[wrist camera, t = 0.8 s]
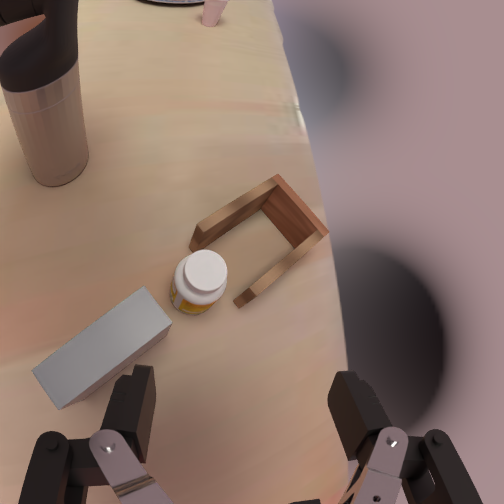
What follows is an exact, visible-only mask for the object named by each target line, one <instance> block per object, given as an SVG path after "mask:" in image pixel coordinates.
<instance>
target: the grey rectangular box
mask: <svg viewBox="0 0 504 504" xmlns="http://www.w3.org/2000/svg"><path fill="white" fill-rule="evenodd" d="M172 323H173V322H172V321H171V320H170V319H169V317H168V316H167V315H166V314H165V312H164V311H163V310H162V308H161V307H160V306H159V305H158V303H157V302H156V301H155V299H154V298H153V297H152V295H151V294H150V293H149V291H148V290H147V289H146V287H145V286H143V287H141V288H140V289H138V290H137V291H136V292H134V293H133V294H132V295H130V296H129V297H127V298H126V299H125V300H123V301H122V302H121V303H119V304H118V305H116V306H115V307H114V308H112V309H111V310H110V311H108V312H107V313H106V314H104V315H103V316H102V317H100V318H99V319H98V320H96V321H95V322H94V323H92V324H91V325H90V326H88V327H87V328H86V329H84V330H83V331H82V332H80V333H79V334H78V335H76V336H75V337H74V338H72V339H71V340H70V341H68V342H67V343H66V344H65V345H63V346H62V347H61V348H59V349H58V350H57V351H56V352H54V353H53V354H52V355H50V356H49V357H48V358H47V359H45V360H44V361H43V362H41V363H40V364H39V365H38V366H36V367H35V368H34V369H33V370H31V371H32V372H33V374H34V375H35V377H36V378H37V380H38V382H39V383H40V385H41V386H42V388H43V389H44V390H45V392H46V393H47V395H48V396H49V398H50V399H51V401H52V402H53V403H54V405H55V406H56V407H57V409H58V410H60V409H63V408H65V407H68V406H70V405H72V404H75V403H77V402H80V401H82V400H84V399H85V398H86V397H87V396H89V395H90V394H91V393H93V392H94V391H95V390H97V389H98V388H99V387H101V386H102V385H103V384H104V383H106V382H107V381H108V380H110V379H111V378H112V377H114V376H115V375H116V374H117V373H119V372H120V371H121V370H123V369H124V368H125V367H126V366H128V365H129V364H130V363H132V362H133V361H134V360H136V359H137V358H138V357H139V356H141V355H142V354H143V353H145V352H146V351H147V350H148V349H150V348H151V347H152V346H154V345H155V344H156V343H157V342H159V341H160V340H161V339H162V338H164V337H165V336H166V335H167V333H168V331H169V329H170V327H171V325H172Z"/></svg>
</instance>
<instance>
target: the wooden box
mask: <svg viewBox="0 0 504 504" xmlns="http://www.w3.org/2000/svg"><path fill="white" fill-rule="evenodd" d="M260 209H261V210H262V211H263V212H264V213H265V214H266V215H267V217H268V218H269V219H270V220H271V221H272V222H273V223H274V225H275V226H276V227H277V228H278V229H279V230H280V232H281V233H282V234H283V235H284V236H285V237H286V239H287V240H288V241H289V242H290V243H291V244H292V246H293V247H294V248H295V249H294V250H293V251H292V252H291V253H289V254H288V255H287V256H286V257H285V258H284V259H282V260H281V261H280V262H279V263H278V264H276V265H275V266H274V267H273V268H272V269H271V270H269V271H268V272H267V273H266V274H265V275H263V276H262V277H261V278H260V279H259V280H257V281H256V282H255V283H254V284H253V285H251V286H250V287H249V288H248V289H247V290H245V291H244V292H243V293H242V294H241V295H240V296H238V297H237V298H236V299H235V300H234V301H233V302H234V303H235V304H236V305H237V306H238V308H241V307H242V306H244V305H245V304H246V303H248V302H249V301H251V300H252V299H253V298H255V297H256V296H257V295H259V294H260V293H261V292H262V291H263V290H264V289H266V288H267V287H268V286H269V285H270V284H271V283H273V282H274V281H275V280H276V279H277V278H278V277H279V276H281V275H282V274H283V273H284V272H285V271H286V270H287V269H289V268H290V267H291V266H292V265H293V264H294V263H295V262H296V261H298V260H299V259H300V258H301V257H302V256H303V255H304V254H305V253H307V252H308V251H309V250H310V249H311V248H312V247H313V246H314V245H315V244H317V243H318V242H319V241H320V240H321V239H322V238H323V237H324V236H325V235H327V234H328V233H329V231H328V230H327V228H326V227H325V226H324V225H323V224H322V223H321V221H320V220H319V219H318V218H317V217H316V216H315V214H314V213H313V212H312V211H311V210H310V209H309V207H308V206H307V205H306V204H305V203H304V202H303V201H302V200H301V198H300V197H299V196H298V195H297V194H296V193H295V192H294V191H293V189H292V188H291V187H290V186H289V185H288V184H287V183H286V182H285V181H284V180H283V178H282V177H281V176H280V175H279V174H277V175H275V176H273V177H272V178H270V179H268V180H267V181H265V182H263V183H262V184H260V185H258V186H257V187H255V188H253V189H252V190H250V191H249V192H247V193H245V194H244V195H242V196H240V197H239V198H237V199H236V200H234V201H232V202H231V203H229V204H228V205H226V206H224V207H223V208H221V209H220V210H218V211H216V212H215V213H213V214H212V215H210V216H209V217H207V218H205V219H204V220H202V221H201V222H199V223H198V224H197V225H196V228H195V231H194V234H193V237H192V239H191V242H190V245H189V248H190V249H191V250H192V252H193V253H194V252H196V251H199V250H202V249H203V248H204V247H206V246H207V245H209V244H210V243H212V242H213V241H214V240H216V239H217V238H219V237H220V236H222V235H223V234H225V233H226V232H228V231H229V230H230V229H232V228H233V227H235V226H236V225H238V224H239V223H241V222H242V221H244V220H245V219H246V218H248V217H249V216H251V215H252V214H254V213H255V212H257V211H258V210H260Z"/></svg>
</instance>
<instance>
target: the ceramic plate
mask: <svg viewBox="0 0 504 504" xmlns="http://www.w3.org/2000/svg"><path fill="white" fill-rule="evenodd" d="M149 1H155V2H163V3H197V2H203V1H205V0H149Z"/></svg>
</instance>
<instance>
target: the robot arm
mask: <svg viewBox="0 0 504 504" xmlns="http://www.w3.org/2000/svg"><path fill="white" fill-rule="evenodd" d="M77 13H78V0H0V26H4V25H7V24H10V23H13V22H16V21H19V20H23V19H26V18H30V17H34V16H38V15H41V14H44V15H45V17H46V18H45V19H44V20H43V21H42V22H41V23H40V24H39V25H37V26H36V27H35V28H33V29H31V30H30V31H29V32H27V33H25V34H24V35H22V36H21V37H19V38H18V39H17V40H15V41H14V42H13V43H11V44H10V45H9V46H8V47H7V48H6V50H5V51H4V52H3V53H2V55H1V57H0V83H1V87H2V90H3V94H4V97H5V101H6V104H7V107H8V110H9V113H10V116H11V119H12V122H13V125H14V128H15V131H16V134H17V136H18V139H19V142H20V144H21V147H22V150H23V152H24V155H25V157H26V160H27V162H28V165H29V167H30V169H31V172H32V174H33V176H34V178H35V179H36V180H37V182H39V183H40V184H42V185H45V186H59V185H63V184H66V183H68V182H70V181H72V180H73V179H74V178H76V177H77V176H78V175H79V174H80V173H81V172H82V171H83V169H84V168H85V166H86V164H87V161H88V147H87V140H86V133H85V125H84V118H83V109H82V100H81V90H80V77H79V63H78V39H77ZM155 403H156V387H155V379H154V370H153V366H146V365H137V364H136V365H135V366H134V369H133V373H132V376H130V375H122V376H121V377H120V378H119V379H118V380H117V381H116V383H115V386H114V389H113V393H112V395H111V398H110V401H109V404H108V407H107V410H106V413H105V416H104V419H103V423H102V426H101V428H100V430H99V431H97V432H96V433H94V434H93V435H92V436H91V437H90V438H86V439H73V440H67V438H66V437H65V436H64V435H63V434H61V433H59V432H55V431H49V432H45V433H43V434H42V435H40V436H39V438H38V439H37V442H36V445H35V447H34V450H33V454H32V457H31V460H30V463H29V466H28V470H27V473H26V476H25V480H24V483H23V487H22V491H21V495H20V499H19V503H18V504H86V499H87V492H88V486H101V485H110V486H111V487H112V489H113V490H114V492H115V494H116V495H117V497H118V498H119V500H120V501H121V503H122V504H174V503H173V502H172V501H171V499H170V498H169V497H168V496H167V494H166V493H165V492H164V491H163V489H162V488H161V487H160V486H159V484H158V483H157V482H156V481H155V479H154V478H153V477H150V476H149V475H148V474H147V472H146V471H145V469H144V468H143V467H142V465H141V464H140V463H146V457H147V450H148V444H149V438H150V432H151V426H152V420H153V414H154V409H155ZM328 407H329V409H330V412H331V415H332V418H333V420H334V423H335V426H336V428H337V431H338V434H339V437H340V439H341V442H342V445H343V448H344V450H345V453H346V456H347V459H348V461H351V460H356V459H357V460H358V463H359V464H358V465H357V467H356V469H355V471H354V474H353V476H352V478H351V480H350V482H349V484H348V486H347V488H346V490H345V492H344V494H343V496H342V498H341V499H340V501H339V502H338V504H395V502H396V499H397V495H398V493H399V490H400V486H401V485H402V487H403V490H404V493H405V496H406V498H407V501H408V504H483V503H482V501H481V499H480V497H479V495H478V492H477V490H476V488H475V486H474V484H473V482H472V480H471V478H470V476H469V474H468V472H467V470H466V468H465V466H464V464H463V462H462V460H461V459H460V457H459V455H458V453H457V451H456V449H455V447H454V445H453V444H452V442H451V440H450V438H449V436H448V435H447V434H446V433H445V432H443V431H441V430H438V429H433V430H430V431H428V432H427V433H426V434H425V436H424V437H414V436H407V435H406V433H405V432H404V431H402V430H401V429H399V428H396V427H393V426H392V424H391V422H390V420H389V419H388V417H387V415H386V413H385V411H384V409H383V407H382V405H381V404H380V403H379V400H378V398H377V397H376V394H375V392H374V390H373V389H372V387H371V386H370V385H369V384H368V383H366V382H365V381H364V380H361V381H360V380H359V378H358V376H357V374H356V372H355V371H353V370H351V371H338V372H337V373H336V375H335V378H334V381H333V383H332V386H331V388H330V391H329V394H328ZM429 471H430V473H431V475H432V477H431V475H430V473H429ZM432 478H433V480H434V482H435V484H434V482H433V480H432ZM290 504H321V503H320V499H314V500H307V501H299V502H293V503H290Z"/></svg>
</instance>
